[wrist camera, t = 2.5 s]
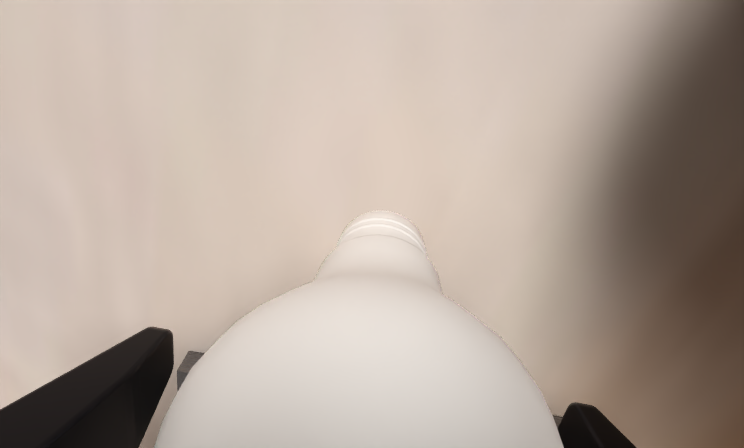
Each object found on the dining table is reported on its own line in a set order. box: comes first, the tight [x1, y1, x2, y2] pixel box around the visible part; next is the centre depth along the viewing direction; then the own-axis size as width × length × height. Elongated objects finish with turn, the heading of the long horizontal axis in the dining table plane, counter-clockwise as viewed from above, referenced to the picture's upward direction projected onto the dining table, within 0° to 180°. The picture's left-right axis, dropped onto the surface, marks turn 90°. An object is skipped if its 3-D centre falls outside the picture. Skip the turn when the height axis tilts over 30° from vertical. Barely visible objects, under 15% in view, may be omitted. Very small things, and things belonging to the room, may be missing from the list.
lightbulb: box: [154, 210, 564, 448], centre depth 10 cm, size 6×6×11 cm
